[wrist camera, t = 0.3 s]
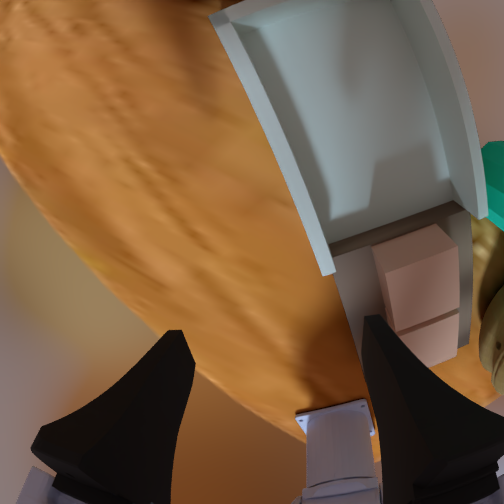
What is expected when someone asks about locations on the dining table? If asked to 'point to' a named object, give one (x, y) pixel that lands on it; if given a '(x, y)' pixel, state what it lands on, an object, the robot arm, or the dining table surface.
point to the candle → (494, 180)
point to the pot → (493, 341)
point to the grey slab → (366, 277)
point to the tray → (357, 110)
